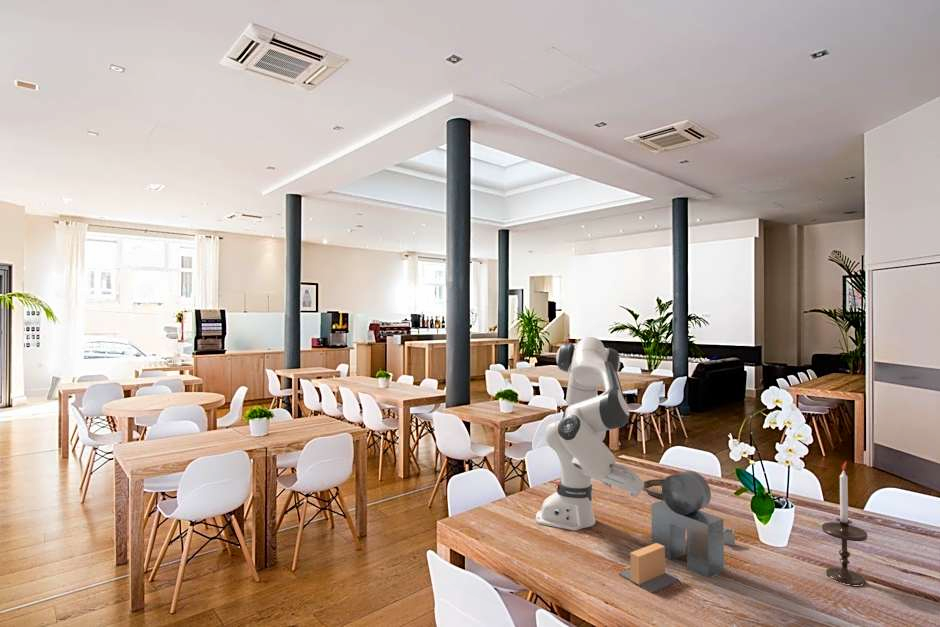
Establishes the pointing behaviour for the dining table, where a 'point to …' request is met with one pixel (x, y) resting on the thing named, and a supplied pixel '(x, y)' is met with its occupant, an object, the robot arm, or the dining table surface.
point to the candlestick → (844, 537)
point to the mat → (653, 581)
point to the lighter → (729, 536)
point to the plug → (647, 563)
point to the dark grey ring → (654, 483)
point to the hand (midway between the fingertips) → (622, 489)
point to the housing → (689, 524)
